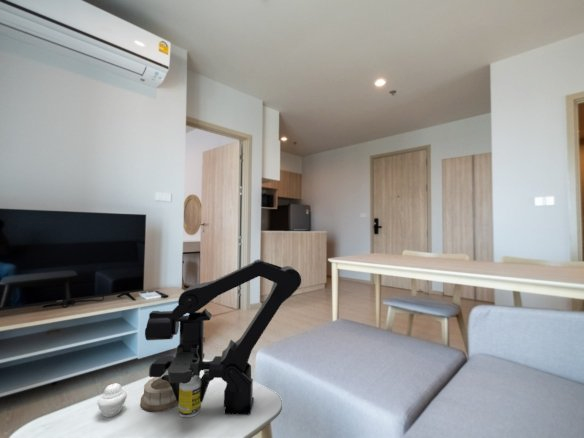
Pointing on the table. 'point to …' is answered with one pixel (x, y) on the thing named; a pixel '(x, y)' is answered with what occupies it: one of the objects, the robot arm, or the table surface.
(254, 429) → the table surface
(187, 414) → the supplement bottle
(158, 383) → the stone fire pit
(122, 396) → the muffin
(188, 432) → the table surface
